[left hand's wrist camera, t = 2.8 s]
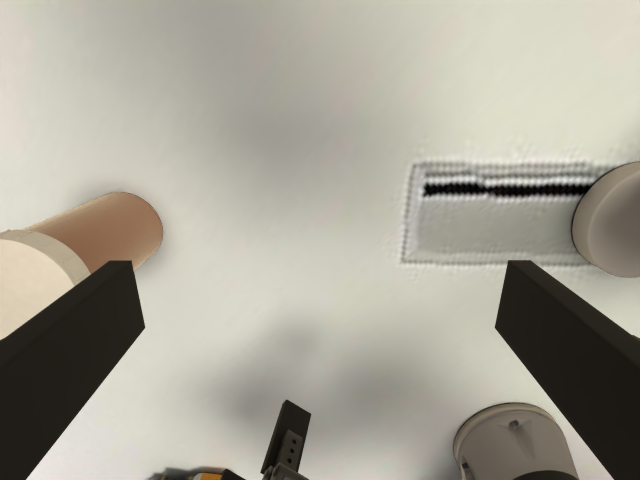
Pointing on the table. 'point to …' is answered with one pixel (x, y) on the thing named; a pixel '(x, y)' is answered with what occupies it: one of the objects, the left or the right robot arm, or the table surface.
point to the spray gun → (200, 477)
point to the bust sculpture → (611, 222)
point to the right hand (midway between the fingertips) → (263, 444)
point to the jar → (107, 230)
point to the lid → (33, 275)
